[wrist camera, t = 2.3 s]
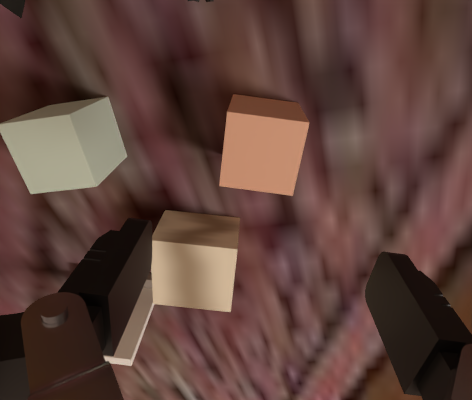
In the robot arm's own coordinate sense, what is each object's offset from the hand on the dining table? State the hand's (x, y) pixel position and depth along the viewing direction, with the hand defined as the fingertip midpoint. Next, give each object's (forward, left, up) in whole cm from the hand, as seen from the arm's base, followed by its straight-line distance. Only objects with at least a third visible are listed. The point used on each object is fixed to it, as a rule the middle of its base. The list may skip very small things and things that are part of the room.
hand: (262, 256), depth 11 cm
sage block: (+14, +2, -16) cm, 21 cm away
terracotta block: (0, 0, -16) cm, 16 cm away
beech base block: (+4, +12, -17) cm, 21 cm away
